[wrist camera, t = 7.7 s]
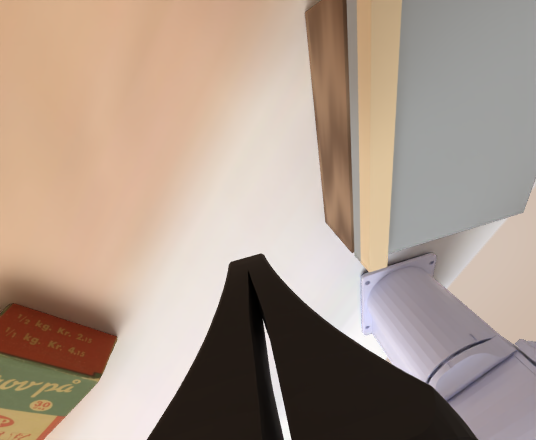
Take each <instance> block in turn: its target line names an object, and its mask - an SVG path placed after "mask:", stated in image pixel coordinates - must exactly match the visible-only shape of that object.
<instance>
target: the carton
mask: <svg viewBox="0 0 536 440" xmlns="http://www.w3.org/2000/svg"><path fill="white" fill-rule="evenodd" d="M116 342H117V336H114V335H111V334H107V333H104V332H101V331H98V330H95V329H92V328H89V327H86V326H83V325H80V324H77V323H74V322H70V321H67V320H64V319H61V318H58V317H55V316H52V315H49V314H46V313H43V312H40V311H36V310H33V309H30V308H27V307H24V306H21V305H18V304H14V303H13V304H12V305H8V306H7V307H6V308H5V309H4V310H3V311H2V312H1V314H0V440H44V439H45V437H46V436H47V435H48V434H49V433H50V432H51V431H52V430H53V429H54V428H55V427H56V426H57V425H58V424H59V423H60V422H61V421H62V420H63V419H64V418H65V417H66V416H67V415H68V413H69V412H71V410H72V409H73V408H74V407H75V406H76V405H77V404H78V403H79V402H80V401H81V400H82V399H83V398H84V397H85V396H86V395H87V394H88V393H89V392H90V390H91V389H92V388H93V387H94V386H95V385H96V384H97V383H98V381H99V380H100V378H101V376H102V374H103V372H104V370H105V367H106V365H107V362H108V360H109V357H110V355H111V353H112V351H113V349H114V346H115V344H116Z"/></svg>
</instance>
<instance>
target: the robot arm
mask: <svg viewBox="0 0 536 440" xmlns="http://www.w3.org/2000/svg"><path fill="white" fill-rule="evenodd" d="M435 263H436V255H435V254H434V253H429V254H426V255H423V256H419V257H416V258H413V259H410V260H407V261H403V262H400V263H397V264H394V265H390V266H387V267H386V268H382V269H379V270H376V271H373V272H370V273H369V272H368V273H365V274H363V275H362V277H361V300H362V333H363V334H364V335H369V334H373V335H374V337H375V338H376V340H377V342H378V343H379V345H380V346H381V348H382V349H383V351H384V352H385V354H386V355H387V357H388V358H389V360H390V361H391V363H392V364H393V365H392V364H390V363H389V362H387V361H385V360H384V359H382V358H381V357H379V356H377V355H376V354H374V353H372V352H371V351H369V350H367V349H366V348H364V347H363V346H361V345H360V344H358V343H357V342H355V341H354V340H352V339H351V338H349V337H348V336H346V335H345V334H344V333H342V332H341V331H339V330H338V329H336V328H335V327H334V326H332V325H331V324H330V323H328V322H327V321H326V320H324V319H323V318H322V317H321V316H320V315H318V314H317V313H316V312H315V311H313V310H312V309H311V308H310V307H309V306H308V305H307V304H305V303H304V302H303V301H302V300H301V299H300V298H299V297H298V296H297V295H296V294H295V293H294V292H293V291H292V290H291V289H290V288H289V287H288V286H287V285H286V284H285V283H284V281H283V280H282V279H281V278H280V277H279V276H278V275H277V273H276V272H275V271H274V270H273V268H272V267H271V266H270V264H269V263H268V261H267V259H266V258H265V256H264V255H263V254H257V255H254V256H250V257H247V258H243V259H240V260H236V261H233V262H231V263H230V264H229V268H228V273H227V278H226V282H225V285H224V289H223V292H222V295H221V298H220V302H219V305H218V307H217V310H216V313H215V315H214V318H213V320H212V323H211V326H210V328H209V331H208V333H207V335H206V337H205V340H204V342H203V344H202V346H201V348H200V350H199V352H198V354H197V356H196V358H195V360H194V362H193V364H192V366H191V368H190V369H189V371H188V373H187V375H186V377H185V379H184V381H183V382H182V384H181V386H180V388H179V389H178V391H177V393H176V394H175V396H174V398H173V399H172V401H171V402H170V404H169V406H168V407H167V409H166V410H165V412H164V414H163V415H162V417H161V418H160V420H159V422H158V423H157V425H156V426H155V428H154V429H153V431H152V433H151V434H150V436H149V437H148V439H147V440H284V438H283V434H282V429H281V425H280V420H279V416H278V411H277V407H276V402H275V397H274V393H273V388H272V382H271V376H270V369H269V362H268V355H267V347H266V340H265V332H264V325H263V321H264V324H265V327H266V330H267V332H268V335H269V338H270V342H271V346H272V351H273V355H274V360H275V364H276V369H277V374H278V378H279V383H280V387H281V392H282V397H283V401H284V406H285V411H286V416H287V420H288V425H289V430H290V435H291V439H292V440H536V342H533V341H526V340H524V339H519V340H518V341H517V342H516V343H515V344H516V345H517V346H518V347H519V348H520V349H519V348H518V347H517V346H515V345H514V344H512V343H511V342H509V341H508V340H507V339H505V338H504V337H502V336H501V335H500V334H498V333H497V332H496V331H495V330H493V328H491V327H490V326H489V325H488V324H487V323H486V322H484V321H483V320H482V319H481V318H480V317H479V316H477V315H476V314H475V313H474V312H473V311H472V310H470V309H469V308H468V307H467V306H466V305H465V304H463V303H462V302H461V301H460V300H459V299H457V298H456V297H455V296H454V295H453V294H452V293H450V292H449V291H448V290H447V289H446V288H445V287H444V286H442V285H441V284H440V283H439V282H438V281H437V280H435V279H434V278H433V274H434V268H435Z"/></svg>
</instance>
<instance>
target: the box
mask: <svg viewBox="0 0 536 440" xmlns="http://www.w3.org/2000/svg"><path fill="white" fill-rule="evenodd" d="M305 18H306V28H307V38H308V49H309V59H310V69H311V79H312V89H313V99H314V110H315V120H316V130H317V140H318V150H319V161H320V171H321V181H322V191H323V201H324V212H325V222H326V223H327V224H328V226H329V227H330V228H331V229H332V230H333V231H334V233H335V234H336V235H337V236H338V237H339V238H340V240H341V241H342V242H343V243H344V244H345V245H346V247H347V248H348V249H349V250H350V251H351V252H352V253H353V252H354V222H353V190H352V158H351V126H350V94H349V62H348V30H347V0H321V1H320V2H318V3H317V4H316V5H314V6H313V7H312V8H310V9H309V10H308V11H306V12H305Z"/></svg>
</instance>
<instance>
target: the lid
mask: <svg viewBox="0 0 536 440" xmlns="http://www.w3.org/2000/svg"><path fill="white" fill-rule="evenodd" d="M347 30H348V62H349V94H350V126H351V158H352V190H353V222H354V254H355V257H356V258H357V259H358V260H359V261H360V262H361V264H362V265H363V266H364V267H365V268H366V269H367V271H368V272H369V273H370V272H373V271H376V270H379V269H382V268H386V267H387V263H388V254H390V253H394V252H397V251H400V250H403V249H407V248H410V247H413V246H416V245H420V244H423V243H426V242H429V241H433V240H436V239H439V238H442V237H446V236H449V235H452V234H455V233H459V232H462V231H465V230H469V229H472V228H475V227H478V226H482V225H485V224H488V223H491V222H495V221H498V220H501V219H504V218H508V217H511V216H514V215H517V214H520V213H523V212H524V209H525V206H526V203H527V201H528V198H529V195H530V193H531V190H532V187H533V184H534V182H535V179H536V0H347Z"/></svg>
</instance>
